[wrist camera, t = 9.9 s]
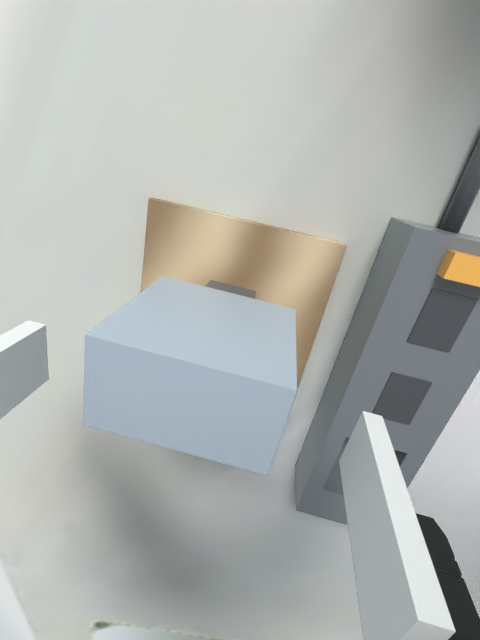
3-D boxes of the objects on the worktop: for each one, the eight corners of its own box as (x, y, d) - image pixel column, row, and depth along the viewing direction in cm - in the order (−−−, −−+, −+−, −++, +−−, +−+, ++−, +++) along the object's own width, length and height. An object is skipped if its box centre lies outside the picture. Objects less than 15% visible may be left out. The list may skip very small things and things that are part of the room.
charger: (173, 267, 21) (84, 334, 12) (295, 297, 21) (296, 390, 12) (166, 327, 23) (83, 425, 14) (277, 356, 23) (267, 475, 14)
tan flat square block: (345, 243, 20) (346, 245, 19) (291, 401, 25) (291, 406, 24) (152, 197, 20) (149, 198, 20) (137, 361, 25) (134, 365, 25)
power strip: (458, 44, 16) (523, -8, 11) (589, 70, 15) (708, 28, 11) (295, 465, 27) (295, 520, 23) (367, 485, 27) (382, 545, 23)
